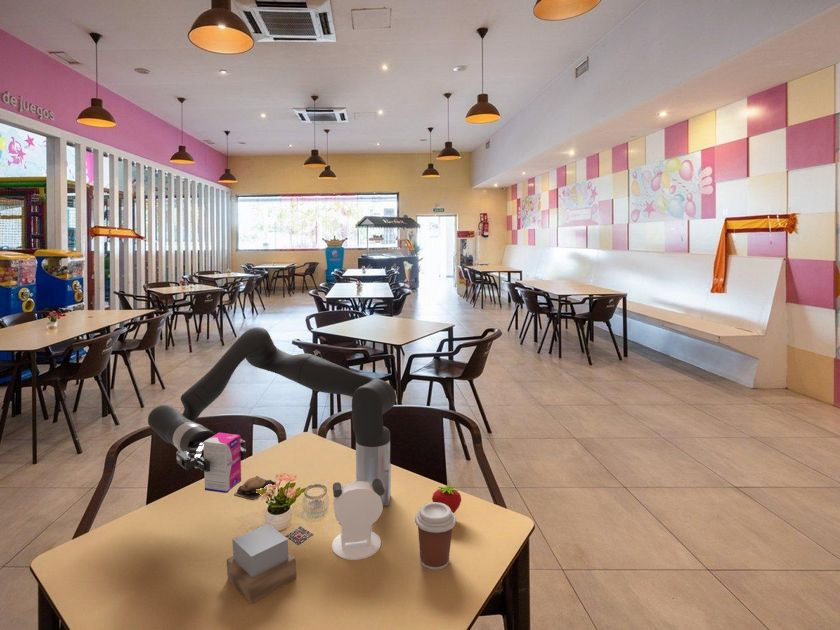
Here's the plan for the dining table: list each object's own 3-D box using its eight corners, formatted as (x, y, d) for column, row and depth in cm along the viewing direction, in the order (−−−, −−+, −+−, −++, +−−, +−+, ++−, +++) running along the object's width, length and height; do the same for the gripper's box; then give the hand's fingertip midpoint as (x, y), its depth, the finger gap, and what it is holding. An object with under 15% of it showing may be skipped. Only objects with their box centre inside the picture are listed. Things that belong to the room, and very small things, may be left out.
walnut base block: (227, 581, 100) (226, 559, 99) (271, 558, 107) (270, 538, 106) (251, 605, 93) (250, 582, 92) (296, 580, 100) (295, 558, 99)
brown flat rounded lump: (254, 503, 131) (254, 490, 130) (231, 496, 134) (230, 484, 133) (280, 485, 140) (279, 473, 140) (257, 479, 144) (256, 468, 143)
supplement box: (228, 493, 105) (225, 444, 103) (204, 490, 106) (201, 441, 104) (242, 481, 110) (240, 434, 109) (219, 478, 111) (217, 431, 110)
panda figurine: (379, 527, 119) (379, 470, 117) (387, 555, 108) (387, 493, 106) (330, 533, 116) (329, 475, 114) (333, 563, 105) (332, 499, 103)
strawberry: (431, 511, 126) (431, 476, 125) (459, 512, 126) (460, 476, 125) (432, 524, 120) (432, 487, 119) (461, 524, 120) (462, 487, 119)
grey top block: (233, 559, 99) (232, 539, 98) (268, 542, 105) (268, 523, 104) (252, 577, 93) (251, 556, 93) (288, 559, 99) (287, 539, 98)
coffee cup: (459, 552, 109) (460, 503, 108) (448, 578, 101) (449, 525, 99) (421, 544, 112) (422, 496, 111) (408, 568, 104) (408, 516, 102)
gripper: (163, 434, 111) (193, 455, 100) (222, 418, 121) (256, 436, 111) (165, 464, 112) (195, 488, 101) (224, 446, 122) (257, 466, 112)
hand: (227, 461), depth 106 cm, fingers closed on supplement box, 7 cm apart
